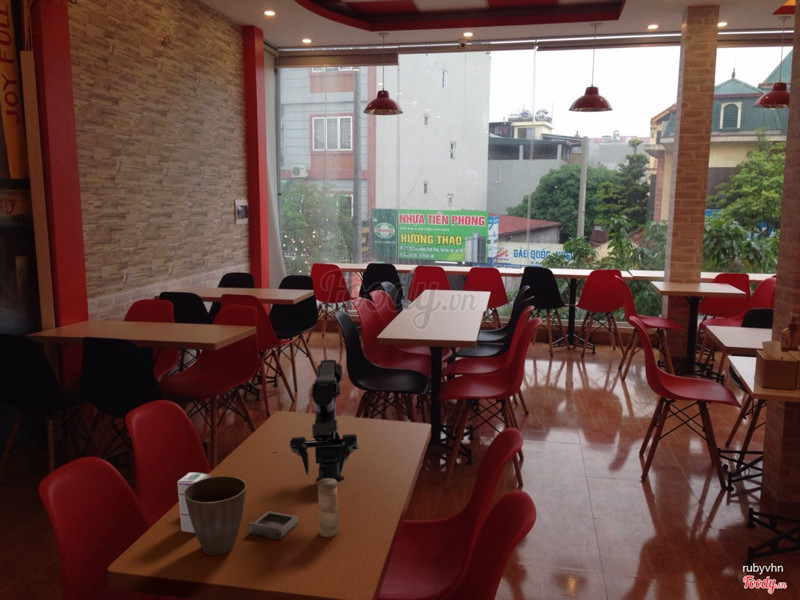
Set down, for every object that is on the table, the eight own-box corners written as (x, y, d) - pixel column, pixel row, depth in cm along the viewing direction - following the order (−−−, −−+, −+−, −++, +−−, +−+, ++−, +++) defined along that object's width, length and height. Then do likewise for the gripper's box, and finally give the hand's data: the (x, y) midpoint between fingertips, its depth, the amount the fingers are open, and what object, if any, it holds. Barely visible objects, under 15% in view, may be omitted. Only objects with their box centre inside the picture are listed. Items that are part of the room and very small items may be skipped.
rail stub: (329, 525, 169) (327, 476, 167) (342, 531, 166) (341, 481, 164) (315, 533, 166) (313, 482, 164) (328, 539, 162) (326, 488, 160)
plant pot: (259, 536, 164) (256, 478, 162) (231, 567, 150) (228, 504, 148) (207, 530, 168) (204, 473, 166) (176, 560, 153) (171, 499, 151)
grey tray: (268, 517, 174) (268, 507, 174) (298, 523, 171) (297, 512, 171) (248, 534, 166) (248, 523, 165) (279, 540, 162) (279, 529, 162)
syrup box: (200, 533, 166) (197, 481, 164) (180, 531, 167) (176, 480, 165) (211, 523, 172) (208, 473, 170) (191, 521, 173) (188, 471, 171)
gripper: (287, 411, 174) (284, 466, 165) (354, 407, 173) (354, 462, 165) (294, 425, 183) (292, 478, 175) (358, 422, 183) (358, 475, 175)
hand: (324, 473), depth 172 cm, fingers open, 9 cm apart
